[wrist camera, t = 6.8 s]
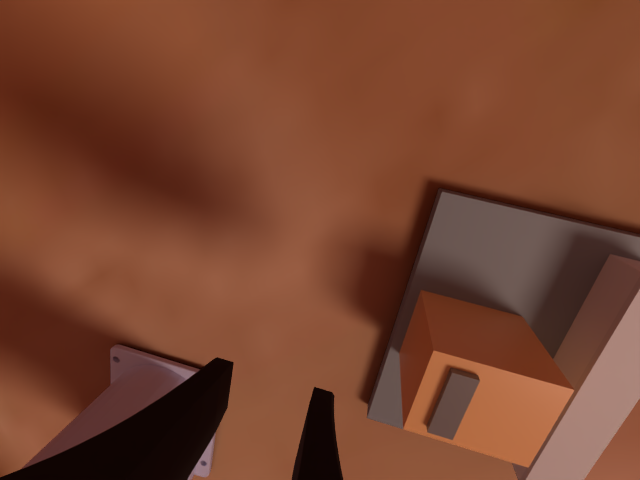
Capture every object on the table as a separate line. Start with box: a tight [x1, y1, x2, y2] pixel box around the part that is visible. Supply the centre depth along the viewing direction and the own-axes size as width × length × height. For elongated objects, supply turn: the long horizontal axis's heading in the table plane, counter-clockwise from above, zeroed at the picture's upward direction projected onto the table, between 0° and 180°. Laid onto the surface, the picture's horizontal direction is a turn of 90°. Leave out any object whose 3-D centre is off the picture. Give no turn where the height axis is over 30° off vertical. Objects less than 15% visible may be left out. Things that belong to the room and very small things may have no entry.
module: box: [399, 290, 574, 468], centre depth 15 cm, size 4×5×5 cm
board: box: [367, 188, 640, 480], centre depth 17 cm, size 14×11×4 cm
